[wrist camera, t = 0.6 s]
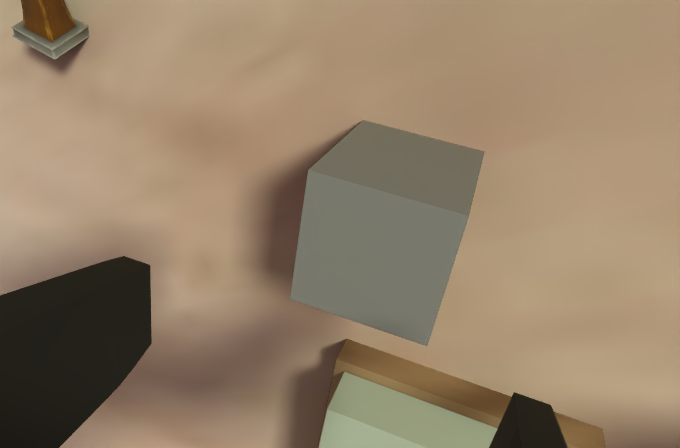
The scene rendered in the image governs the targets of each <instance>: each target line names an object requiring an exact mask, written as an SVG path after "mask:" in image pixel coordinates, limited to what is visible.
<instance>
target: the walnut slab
mask: <svg viewBox="0 0 680 448" xmlns="http://www.w3.org/2000/svg"><path fill="white" fill-rule="evenodd" d="M344 372H347V373H349V374H352V375H355V376H358V377H360V378H363V379H366V380H368V381H371V382H374V383H376V384H379V385H382V386H385V387H387V388H390V389H393V390H395V391H398V392H401V393H403V394H406V395H409V396H411V397H414V398H417V399H420V400H422V401H425V402H428V403H430V404H433V405H436V406H438V407H441V408H444V409H447V410H449V411H452V412H455V413H457V414H460V415H463V416H465V417H468V418H471V419H474V420H476V421H479V422H482V423H484V424H487V425H490V426H492V427H495V428H498V427H499V424H500V422H501V420H502V418H503V415H504V413H505V411H506V409H507V407H508V404H509V402H510V400H511V398H512V397H510V396H507V395H505V394H502V393H499V392H496V391H493V390H490V389H488V388H485V387H482V386H479V385H476V384H473V383H471V382H468V381H465V380H462V379H459V378H456V377H454V376H451V375H448V374H445V373H442V372H439V371H436V370H434V369H431V368H428V367H425V366H422V365H419V364H417V363H414V362H411V361H408V360H405V359H402V358H400V357H397V356H394V355H391V354H388V353H385V352H383V351H380V350H377V349H374V348H371V347H368V346H366V345H363V344H360V343H357V342H354V341H351V340H349V339H346V341H345V343H344V345H343V347H342V349H341V351H340V353H339V355H338V357H337V359H336V363H335V368H334V373H333V378H332V382H331V387H330V392H329V397H328V401H327V406H326V411H325V415H324V420H323V425H322V430H323V426H324V422H325V417H326V413H327V409H328V406H329V404H330V402H331V400H332V398H333V396H334V393H335V391H336V389H337V387H338V385H339V382H340V380H341V378H342V376H343V374H344ZM554 413H555V415H556V418H557V420H558V423H559V426H560V428H561V431H562V434H563V436H564V439H565V441H566V444H567V446H568V448H605V442H604V436H603V430H602V429H601V428H598V427H595V426H592V425H590V424H587V423H584V422H581V421H578V420H575V419H573V418H570V417H567V416H564V415H561V414H558V413H556V412H554ZM322 430H321V434H320V439H321V435H322ZM320 439H319V444H320ZM319 444H318V448H319Z"/></svg>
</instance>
